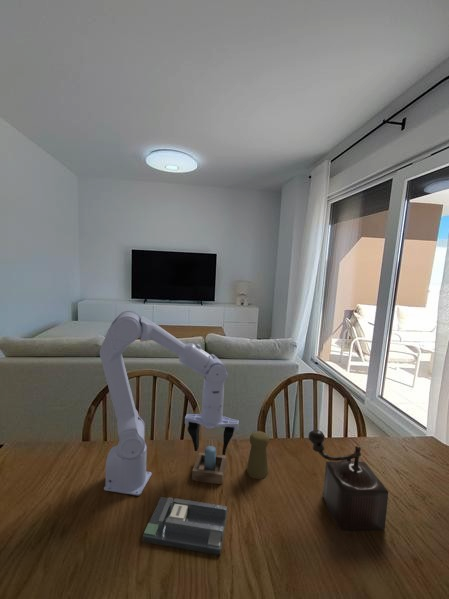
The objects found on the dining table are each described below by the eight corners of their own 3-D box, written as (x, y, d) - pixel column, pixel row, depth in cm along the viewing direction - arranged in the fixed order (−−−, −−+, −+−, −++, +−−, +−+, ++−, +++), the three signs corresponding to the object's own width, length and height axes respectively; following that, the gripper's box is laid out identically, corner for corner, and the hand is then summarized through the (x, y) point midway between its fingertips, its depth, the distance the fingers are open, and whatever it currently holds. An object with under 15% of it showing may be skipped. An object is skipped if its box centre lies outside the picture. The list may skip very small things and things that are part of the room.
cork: (267, 480, 79) (270, 441, 78) (245, 476, 80) (247, 438, 79) (268, 466, 85) (271, 429, 84) (247, 462, 86) (249, 426, 85)
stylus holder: (192, 480, 78) (192, 470, 77) (198, 460, 86) (199, 452, 85) (221, 484, 77) (222, 474, 76) (226, 464, 85) (226, 455, 84)
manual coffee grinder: (359, 492, 76) (366, 426, 74) (386, 530, 65) (394, 454, 63) (301, 493, 75) (306, 426, 73) (317, 532, 64) (324, 454, 62)
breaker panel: (142, 541, 60) (142, 527, 59) (160, 501, 70) (161, 489, 70) (220, 555, 58) (221, 540, 57) (227, 512, 68) (227, 499, 68)
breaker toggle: (169, 523, 62) (169, 515, 62) (174, 510, 66) (174, 503, 66) (183, 525, 62) (183, 517, 62) (187, 512, 65) (187, 505, 65)
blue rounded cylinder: (203, 472, 80) (204, 452, 79) (205, 465, 83) (205, 445, 82) (214, 474, 79) (215, 453, 79) (215, 466, 82) (216, 446, 82)
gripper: (182, 406, 76) (180, 456, 77) (238, 413, 74) (235, 463, 76) (189, 395, 83) (187, 441, 84) (240, 401, 81) (237, 447, 83)
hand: (210, 450), depth 80 cm, fingers open, 7 cm apart
